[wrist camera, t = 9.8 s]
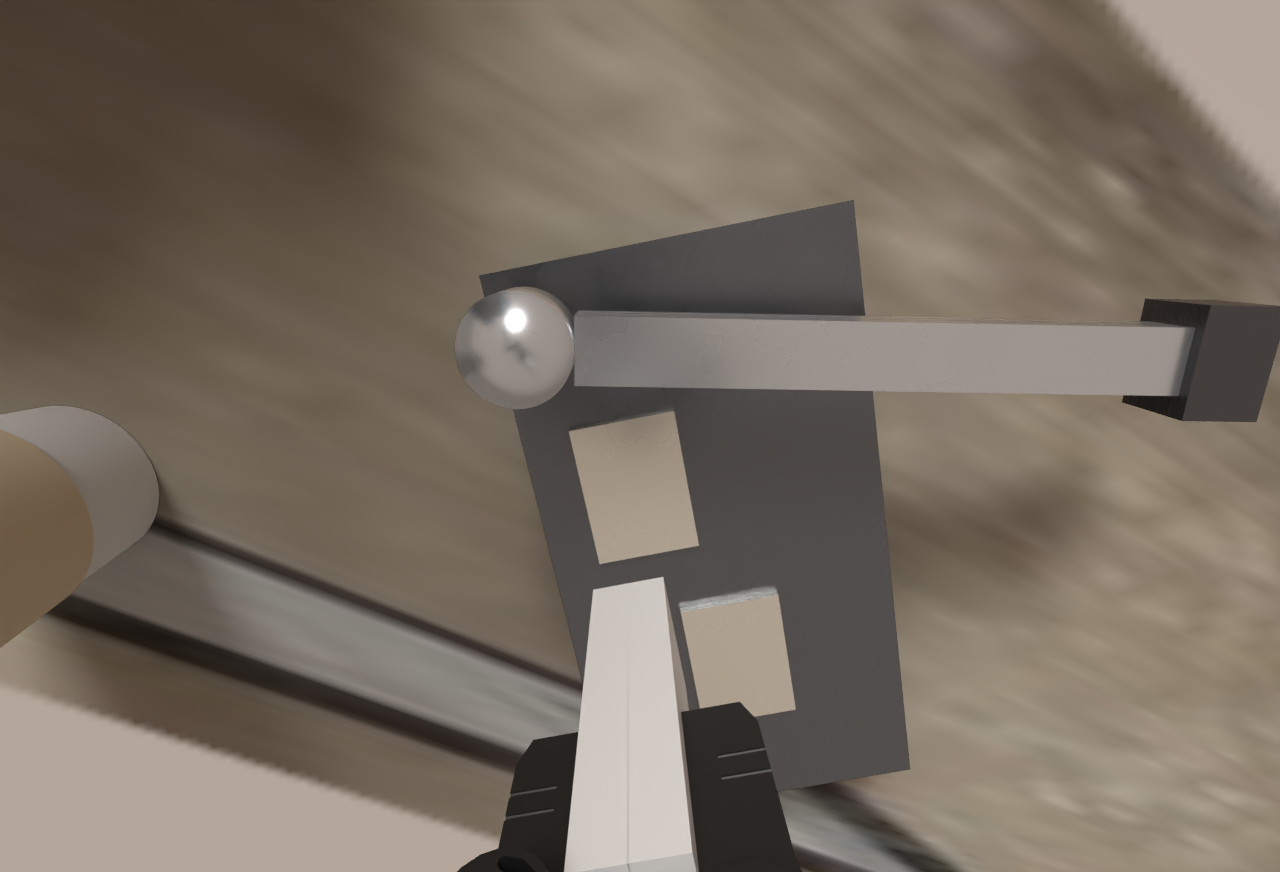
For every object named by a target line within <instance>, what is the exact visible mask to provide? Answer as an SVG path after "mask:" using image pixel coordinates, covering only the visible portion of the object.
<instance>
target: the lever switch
mask: <svg viewBox="0 0 1280 872" xmlns="http://www.w3.org/2000/svg"><path fill="white" fill-rule="evenodd" d="M480 280H481V284H482V288H483V292H484V296H485V297H487V296H489V295H492V294H495V293H498V292H501V291H504V290H507V289H510V288H514V287H533V288H538V289H541V290H544V291H546V292H548V293H550V294H552V295H553V296H555V297H556V298H558V299H559V300H560V301H561V302H562V303H563V304H564V305H565V306H566V307H567V308H568V310H569V311H570V313H571V314H572V316H573V318H574V316H575V314H576V313H577V312H578V311H579V310H588V311H640V312H692V313H744V314H796V315H848V316H865V310H864V300H863V290H862V280H861V270H860V260H859V250H858V240H857V229H856V219H855V209H854V200H851V201H846V202H841V203H836V204H831V205H826V206H821V207H816V208H811V209H806V210H802V211H797V212H792V213H787V214H782V215H777V216H772V217H767V218H762V219H757V220H752V221H747V222H742V223H737V224H732V225H727V226H722V227H718V228H713V229H708V230H703V231H698V232H693V233H688V234H683V235H678V236H673V237H668V238H663V239H658V240H653V241H648V242H643V243H638V244H633V245H629V246H624V247H619V248H614V249H609V250H604V251H599V252H594V253H589V254H584V255H579V256H574V257H569V258H564V259H559V260H554V261H549V262H545V263H540V264H535V265H530V266H525V267H520V268H515V269H510V270H505V271H500V272H495V273H490V274H485V275H480ZM513 410H514V414H515V418H516V422H517V426H518V430H519V434H520V438H521V442H522V446H523V449H524V453H525V457H526V461H527V465H528V469H529V473H530V477H531V481H532V485H533V489H534V493H535V497H536V501H537V505H538V508H539V512H540V516H541V520H542V524H543V528H544V532H545V536H546V540H547V544H548V548H549V552H550V556H551V560H552V564H553V567H554V571H555V575H556V579H557V583H558V587H559V591H560V595H561V599H562V603H563V607H564V611H565V615H566V619H567V623H568V626H569V630H570V634H571V638H572V642H573V646H574V650H575V654H576V658H577V662H578V666H579V670H580V674H581V678H582V682H583V683H584V674H585V664H586V655H587V645H588V635H589V626H590V616H591V606H592V597H593V590H594V589H600V588H605V587H611V586H616V585H622V584H627V583H632V582H638V581H643V580H649V579H654V578H660V577H663V578H664V583H665V588H666V592H667V597H668V602H669V607H670V612H671V617H672V622H673V627H674V631H675V636H676V641H677V646H678V651H679V656H680V661H681V666H682V670H683V675H684V680H685V685H686V692H687V700H688V707H689V710H695V709H701V708H706V707H712V706H718V705H723V704H729V703H735V702H741V703H742V704H743V706H744V707H745V708H746V709H747V710H748V711H749V712H750V713H751V714H752V715H753V716H754V717H755V718H756V719H757V720H758V723H759V726H760V730H761V734H762V737H763V741H764V745H765V749H766V752H767V756H768V759H769V763H770V767H771V771H772V774H773V778H774V781H775V785H776V788H777V792H779V791H785V790H791V789H797V788H803V787H809V786H815V785H821V784H826V783H832V782H838V781H844V780H850V779H856V778H862V777H868V776H873V775H879V774H885V773H891V772H897V771H903V770H909V769H910V763H909V753H908V743H907V733H906V723H905V713H904V703H903V693H902V683H901V673H900V663H899V653H898V642H897V632H896V622H895V612H894V602H893V592H892V582H891V572H890V562H889V552H888V542H887V532H886V522H885V511H884V501H883V491H882V481H881V471H880V461H879V451H878V441H877V431H876V421H875V411H874V401H873V391H844V390H784V389H725V388H665V387H606V386H575V382H574V366H573V368H572V370H571V373H570V375H569V377H568V379H567V381H566V382H565V384H564V385H563V387H562V388H561V389H560V390H559V392H558V393H557V394H556V395H554V396H553V397H552V398H551V399H549V400H548V401H546V402H544V403H542V404H540V405H538V406H535V407H531V408H526V409H513Z"/></svg>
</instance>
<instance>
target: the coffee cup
mask: <svg viewBox="0 0 1280 872" xmlns="http://www.w3.org/2000/svg"><path fill="white" fill-rule="evenodd" d="M158 505H159V486H158V481H157V477H156V474H155V471H154V468H153V466H152V464H151V462H150V460H149V458H148V456H147V455H146V453H145V452H144V450H143V449H142V448H141V446H140V445H139V444H138V443H137V442H136V441H135V439H134V438H133V437H132V436H131V435H129V434H128V433H127V432H126V431H125V430H124V429H122V428H121V427H120V426H118V425H117V424H115V423H114V422H112V421H110V420H109V419H107V418H105V417H103V416H101V415H99V414H96V413H94V412H91V411H88V410H85V409H81V408H76V407H70V406H47V407H40V408H35V409H29V410H23V411H18V412H12V413H7V414H1V415H0V648H1V647H2V646H3V645H5V644H6V643H7V642H9V641H10V640H11V639H13V638H14V637H15V636H17V635H18V634H19V633H21V632H22V631H23V630H25V629H26V628H27V627H28V626H30V625H31V624H32V623H34V622H35V621H36V620H38V619H39V618H40V617H42V616H43V615H44V614H46V613H47V612H48V611H50V610H51V609H52V608H53V607H55V606H56V605H57V604H59V603H60V602H61V601H63V600H64V599H65V598H67V597H68V596H69V595H70V594H71V593H72V592H74V591H75V589H76V588H77V587H78V586H79V585H80V583H81V582H82V581H84V580H85V579H86V578H88V577H89V576H90V575H92V574H93V573H95V572H96V571H97V570H99V569H100V568H101V567H103V566H104V565H105V564H107V563H108V562H110V561H111V560H112V559H114V558H115V557H116V556H118V555H119V554H120V553H122V552H123V551H125V550H126V549H127V548H129V547H130V546H131V545H133V544H134V543H135V542H137V541H138V540H139V539H140V538H141V537H142V536H143V535H144V534H145V533H146V532H147V531H148V530H149V528H150V527H151V525H152V523H153V521H154V519H155V517H156V514H157V510H158Z"/></svg>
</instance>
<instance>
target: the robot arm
mask: <svg viewBox="0 0 1280 872" xmlns="http://www.w3.org/2000/svg"><path fill="white" fill-rule="evenodd" d="M510 793H511V798H509V802H508V806H507V811H506V821H504V825H503V829H502V834H501V838H500V843H499V848H498V849H496V850H493V851H490V852H487V853H484V854H481V855H479V856H478V857H476V858H475V859H473V860H472V861H470V862H469V863H467V864H466V865H464V866H463V867H461V868H460V870H459V871H457V872H802V870H801V869H800V866H799V864H798V862H797V859H796V857H795V854H794V851H793V847H792V843H791V840H790V836H789V832H788V829H787V825H786V821H785V818H784V814H783V810H782V807H781V803H780V799H779V796H778V792H777V788H776V785H775V781H774V778H773V774H772V771H771V767H770V763H769V759H768V756H767V752H766V749H765V745H764V741H763V737H762V734H761V730H760V726H759V723H758V720H757V719H756V718H755V717H754V716H753V715H752V714H751V713H750V712H749V711H748V710H747V709H746V708H745V707H744V706H743V704H742V703H741V702H735V703H729V704H723V705H718V706H712V707H706V708H701V709H695V710H689V707H688V700H687V692H686V685H685V680H684V675H683V670H682V666H681V661H680V656H679V651H678V646H677V641H676V636H675V631H674V627H673V622H672V617H671V612H670V607H669V602H668V597H667V592H666V588H665V583H664V578H663V577H660V578H654V579H649V580H643V581H638V582H632V583H627V584H622V585H616V586H611V587H605V588H600V589H594V590H593V597H592V606H591V616H590V626H589V635H588V645H587V655H586V664H585V674H584V683H583V693H582V703H581V712H580V722H579V732H576V733H571V734H565V735H559V736H554V737H548V738H542V739H537V740H533V741H532V743H531V744H530V746H529V747H528V749H527V750H526V752H525V753H524V755H523V756H522V758H521V759H520V761H519V762H518V764H517V765H516V769H515V774H514V779H513V783H512V788H511V792H510Z"/></svg>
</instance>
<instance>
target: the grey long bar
mask: <svg viewBox="0 0 1280 872" xmlns="http://www.w3.org/2000/svg"><path fill="white" fill-rule="evenodd" d="M1279 340H1280V306H1275V305H1264V304H1252V303H1241V302H1230V301H1219V300H1182V299H1145V302H1144V307H1143V311H1142V316H1141V320H1140V321H1108V320H1056V319H1004V318H952V317H900V316H848V315H796V314H744V313H692V312H640V311H588V310H579V311H578V312H577V313H576V314H575V316H574V318H573V316H572V314H571V313H570V311H569V310H568V308H567V307H566V306H565V305H564V304H563V303H562V302H561V301H560V300H559V299H558V298H556V297H555V296H553V295H552V294H550V293H548V292H546V291H544V290H541V289H538V288H533V287H514V288H510V289H507V290H504V291H501V292H498V293H495V294H492V295H489V296H487V297H485V298H483V299H481V300H480V301H478V302H477V303H475V304H474V305H473V306H472V307H471V308H470V309H469V310H468V312H467V313H466V314H465V315H464V317H463V319H462V320H461V322H460V325H459V327H458V330H457V333H456V338H455V357H456V361H457V365H458V368H459V371H460V373H461V375H462V377H463V379H464V380H465V382H466V383H467V384H468V386H469V387H470V388H471V389H472V390H473V391H474V392H475V393H476V394H477V395H478V396H480V397H481V398H483V399H484V400H486V401H487V402H489V403H491V404H493V405H496V406H499V407H503V408H508V409H526V408H531V407H535V406H538V405H540V404H542V403H544V402H546V401H548V400H549V399H551V398H552V397H553V396H554V395H556V394H557V393H558V392H559V390H560V389H561V388H562V387H563V385H564V384H565V382H566V381H567V379H568V377H569V375H570V373H571V370H572V368H573V366H574V382H575V386H606V387H665V388H725V389H784V390H844V391H903V392H963V393H1023V394H1082V395H1124V396H1123V400H1122V402H1123V403H1126V404H1130V405H1133V406H1136V407H1139V408H1142V409H1146V410H1149V411H1152V412H1155V413H1158V414H1162V415H1165V416H1168V417H1171V418H1174V419H1178V420H1181V421H1224V422H1256V421H1257V418H1258V414H1259V411H1260V407H1261V404H1262V400H1263V397H1264V393H1265V390H1266V386H1267V382H1268V379H1269V375H1270V372H1271V368H1272V365H1273V361H1274V358H1275V354H1276V351H1277V347H1278V344H1279Z"/></svg>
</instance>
